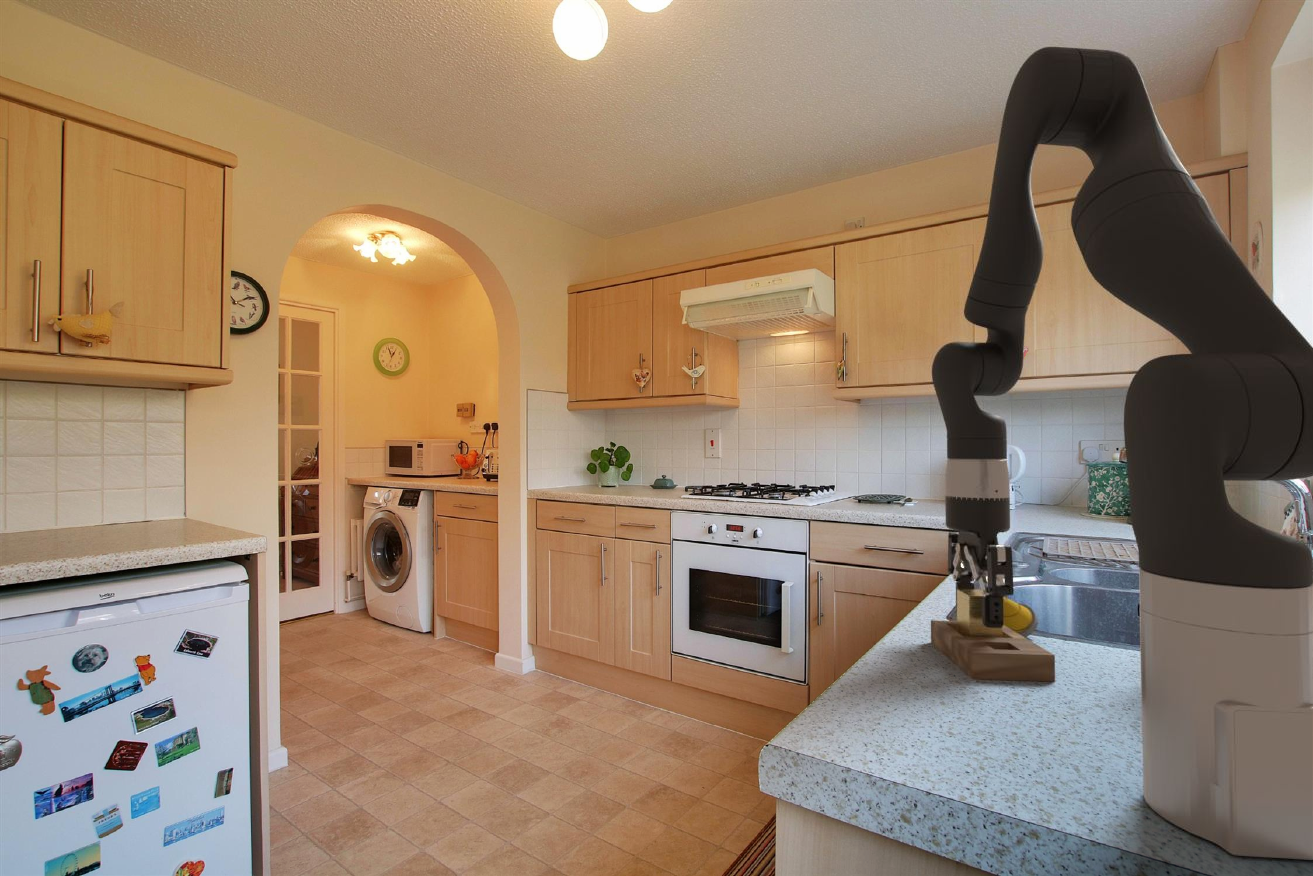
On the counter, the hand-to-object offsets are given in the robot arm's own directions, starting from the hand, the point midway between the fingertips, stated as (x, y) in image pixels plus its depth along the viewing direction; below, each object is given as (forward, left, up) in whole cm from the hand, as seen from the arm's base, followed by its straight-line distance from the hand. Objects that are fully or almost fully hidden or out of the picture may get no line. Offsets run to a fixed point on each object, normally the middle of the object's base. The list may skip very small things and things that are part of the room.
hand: (978, 618), depth 81 cm
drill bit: (+8, -8, -5) cm, 12 cm away
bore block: (-2, 0, -5) cm, 5 cm away
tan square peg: (0, 0, -5) cm, 5 cm away
